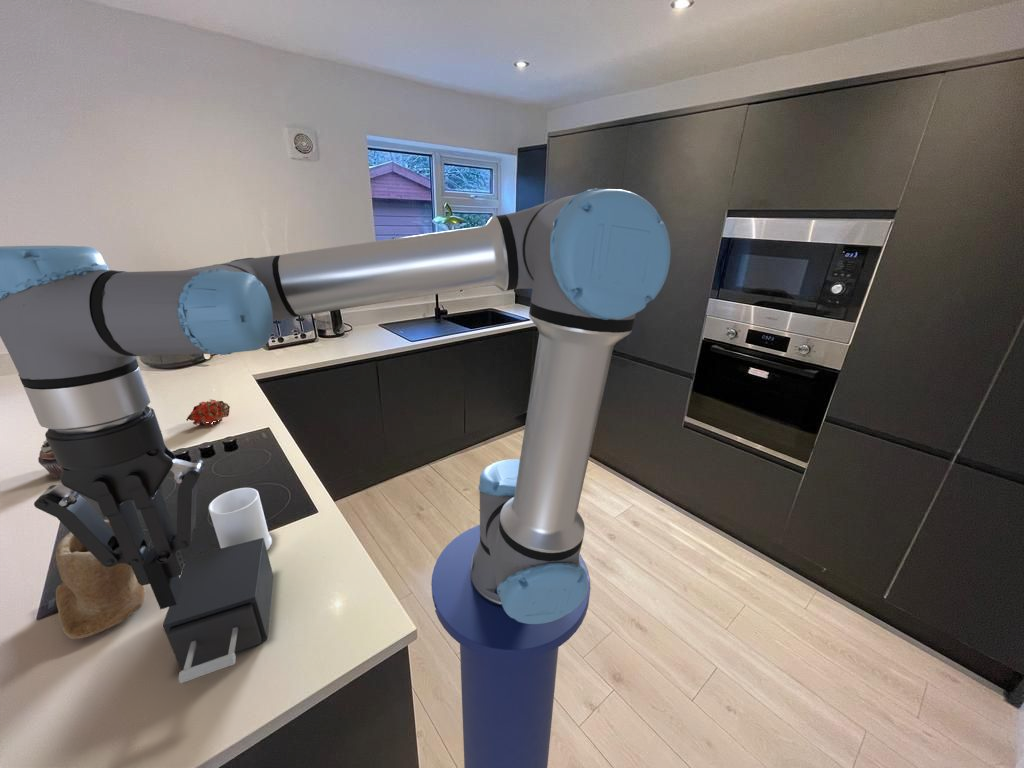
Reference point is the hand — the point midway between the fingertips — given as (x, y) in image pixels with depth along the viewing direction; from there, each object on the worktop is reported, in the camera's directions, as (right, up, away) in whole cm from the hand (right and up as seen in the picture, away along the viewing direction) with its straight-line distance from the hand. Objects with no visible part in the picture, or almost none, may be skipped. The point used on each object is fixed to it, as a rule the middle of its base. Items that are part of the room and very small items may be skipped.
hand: (171, 597), depth 46 cm
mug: (-14, -8, +35) cm, 39 cm away
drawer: (-5, -15, +16) cm, 22 cm away
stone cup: (-29, -13, +22) cm, 39 cm away
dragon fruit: (-59, +12, +84) cm, 104 cm away
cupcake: (-76, +2, +58) cm, 95 cm away
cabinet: (-7, -14, +20) cm, 25 cm away
